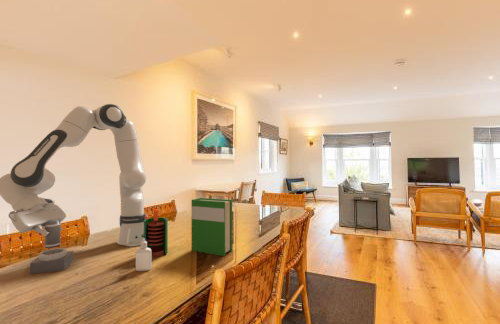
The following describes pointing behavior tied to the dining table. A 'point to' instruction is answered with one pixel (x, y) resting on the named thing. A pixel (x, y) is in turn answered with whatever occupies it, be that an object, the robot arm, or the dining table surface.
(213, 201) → the hardback book
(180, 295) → the dining table surface
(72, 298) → the dining table surface
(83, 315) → the dining table surface
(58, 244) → the lens
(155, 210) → the motor
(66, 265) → the grey holder base
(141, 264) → the eye dropper bottle
